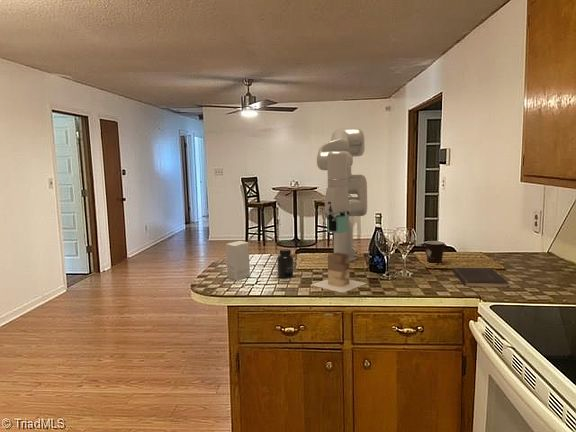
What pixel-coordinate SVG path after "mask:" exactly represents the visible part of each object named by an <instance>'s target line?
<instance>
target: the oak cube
mask: <svg viewBox="0 0 576 432" xmlns="http://www.w3.org/2000/svg"><path fill="white" fill-rule="evenodd" d="M327 279H328V284H329V285H333V286H337V287H342V286H345V285H347V284H349V279H350V268H349V269H348V270H345V271H342V272H337V271H332V270H328V269H327Z"/></svg>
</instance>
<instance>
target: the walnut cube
mask: <svg viewBox="0 0 576 432" xmlns="http://www.w3.org/2000/svg"><path fill="white" fill-rule="evenodd" d="M348 269H349V270H350V262H349V254H345V253H339V252H336V253H334V252H333V253H330V254H327V271H328V270H332V271H337V272H342V271H345V270H348Z"/></svg>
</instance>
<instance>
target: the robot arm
mask: <svg viewBox="0 0 576 432" xmlns="http://www.w3.org/2000/svg"><path fill="white" fill-rule="evenodd" d="M365 146H366V145H365V135H364V133H363V131H362V129H361V128H359V127H358V128H356V127H354V128H353V127H352V128H340V129H339V128H338V129H336V130H334V131H333V132H332V134H331V138H330V140H329V141H328V142H327V143H324V144H323V145H321V146H320V147H319V148H318V151H317V156H316V166H317V168H318V169H319V170H321V171H326V172H327V187H326V190H325V196H324V197H325V198H324V212H323V213H324V216H325V217H326V219H327V218H328V221H329V231H336V221H335V218H336V215H342V216H349V217H365V216H366V215H367V213H368V181H367V178H366V177H365V175H363V174H352V166H353V161H354V158H353V157H361V156H363V155H364V153H365V149H366V148H365ZM349 195H356V196H349ZM332 216H333V217H332ZM353 229H354V227H353V223H352V221H351V220H350V219H349V231H348V232H343V233H333V253H336V252H339V253H345V254H349V263H351V262H356V260H357V257H356V256H355V254H358V253H359V251H358V249H354V230H353Z"/></svg>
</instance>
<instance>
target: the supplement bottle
mask: <svg viewBox="0 0 576 432" xmlns="http://www.w3.org/2000/svg"><path fill="white" fill-rule="evenodd" d="M291 251H292V250H291V249H290V248H282V249H281V248H280V249H279V255H278V257H277V277H278V278H280V279H291V278H293V277H294V257H293V256H292V255H291V254H292V252H291Z"/></svg>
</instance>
